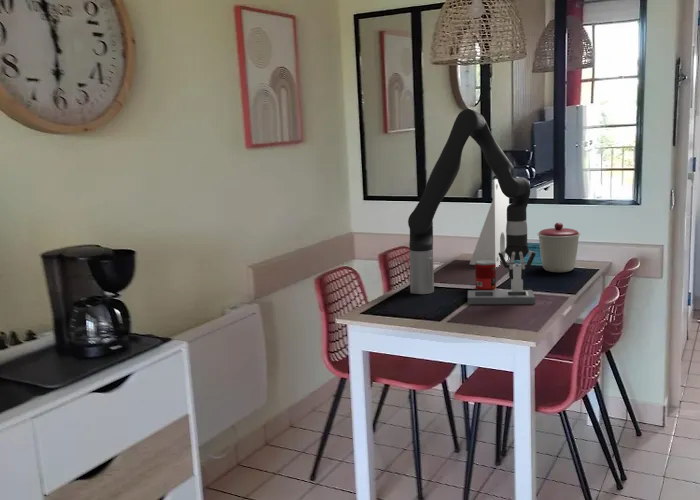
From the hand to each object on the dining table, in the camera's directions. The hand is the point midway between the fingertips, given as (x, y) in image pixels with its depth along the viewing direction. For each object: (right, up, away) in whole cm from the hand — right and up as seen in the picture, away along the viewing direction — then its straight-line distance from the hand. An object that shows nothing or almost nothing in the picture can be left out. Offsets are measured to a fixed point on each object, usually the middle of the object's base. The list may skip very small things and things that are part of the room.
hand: (517, 278), depth 255 cm
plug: (0, -4, +2) cm, 5 cm away
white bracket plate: (+3, +4, +71) cm, 71 cm away
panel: (-6, -8, +2) cm, 10 cm away
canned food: (-7, -5, +22) cm, 23 cm away
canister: (+30, +1, +48) cm, 57 cm away
